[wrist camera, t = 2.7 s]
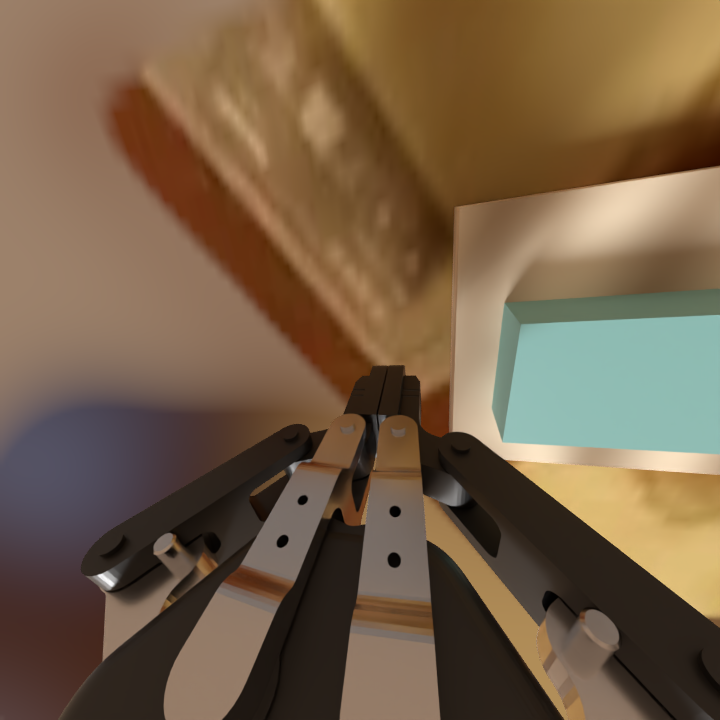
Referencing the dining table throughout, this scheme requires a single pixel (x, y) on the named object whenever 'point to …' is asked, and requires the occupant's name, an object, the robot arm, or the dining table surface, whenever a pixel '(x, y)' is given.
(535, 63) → the dining table surface
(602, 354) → the teal rectangular block
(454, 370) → the cream flat block
